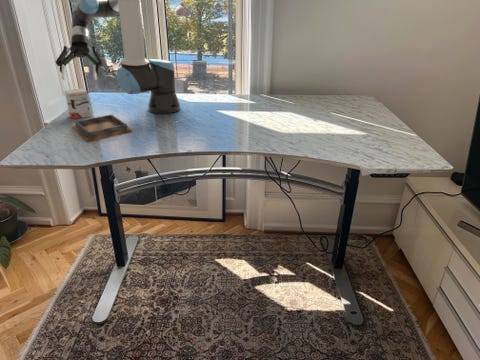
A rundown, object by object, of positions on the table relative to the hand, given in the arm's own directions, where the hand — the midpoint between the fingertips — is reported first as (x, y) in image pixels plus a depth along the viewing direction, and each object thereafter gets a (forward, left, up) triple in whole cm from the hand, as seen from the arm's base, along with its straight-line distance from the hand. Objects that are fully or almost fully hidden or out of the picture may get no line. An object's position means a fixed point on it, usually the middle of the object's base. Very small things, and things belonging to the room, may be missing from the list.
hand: (79, 78), depth 156 cm
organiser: (-12, +28, -14) cm, 34 cm away
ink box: (0, +10, -15) cm, 18 cm away
